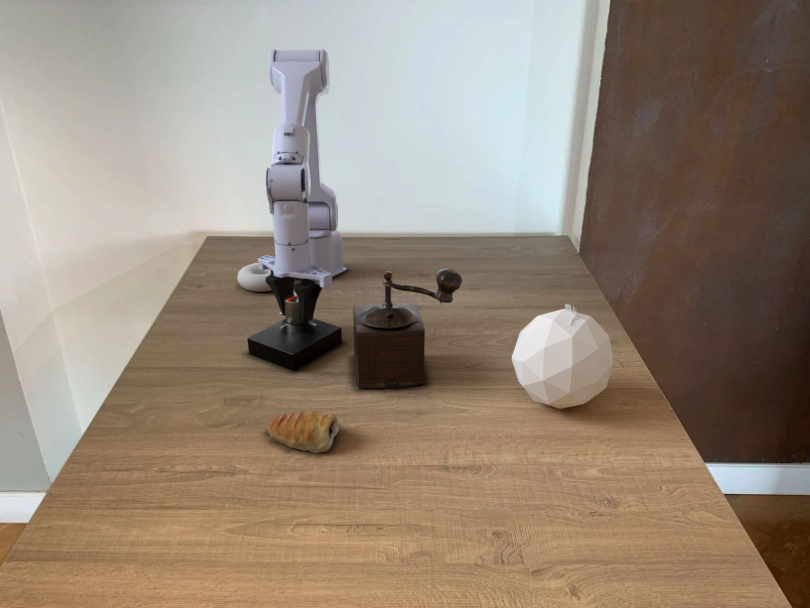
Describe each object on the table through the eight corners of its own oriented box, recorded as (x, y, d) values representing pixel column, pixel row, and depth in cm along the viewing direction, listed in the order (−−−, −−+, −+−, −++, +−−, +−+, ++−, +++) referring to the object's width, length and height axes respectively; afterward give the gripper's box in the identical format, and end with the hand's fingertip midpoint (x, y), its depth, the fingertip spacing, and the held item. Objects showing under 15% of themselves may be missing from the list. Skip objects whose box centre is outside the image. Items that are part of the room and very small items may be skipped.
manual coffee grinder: (356, 392, 111) (353, 279, 102) (352, 357, 120) (349, 251, 112) (459, 386, 112) (465, 274, 103) (447, 352, 122) (451, 247, 113)
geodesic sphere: (504, 329, 115) (515, 282, 102) (597, 330, 115) (621, 283, 101) (507, 420, 109) (519, 383, 96) (605, 422, 109) (632, 385, 95)
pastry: (260, 447, 98) (258, 423, 96) (277, 420, 104) (275, 397, 102) (329, 456, 96) (327, 431, 95) (342, 428, 102) (341, 404, 100)
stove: (297, 321, 133) (295, 305, 131) (350, 338, 126) (349, 321, 125) (239, 350, 123) (237, 333, 121) (294, 371, 116) (293, 353, 115)
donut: (282, 296, 143) (293, 275, 152) (281, 279, 141) (292, 259, 150) (232, 294, 144) (245, 274, 153) (230, 277, 142) (243, 258, 151)
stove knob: (296, 312, 129) (295, 289, 126) (314, 318, 126) (313, 294, 124) (280, 320, 126) (279, 297, 124) (298, 326, 124) (297, 302, 122)
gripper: (242, 238, 120) (249, 314, 127) (309, 256, 113) (314, 336, 119) (272, 226, 125) (278, 300, 132) (339, 243, 118) (342, 321, 124)
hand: (297, 316), depth 126 cm, fingers closed on stove knob, 4 cm apart
